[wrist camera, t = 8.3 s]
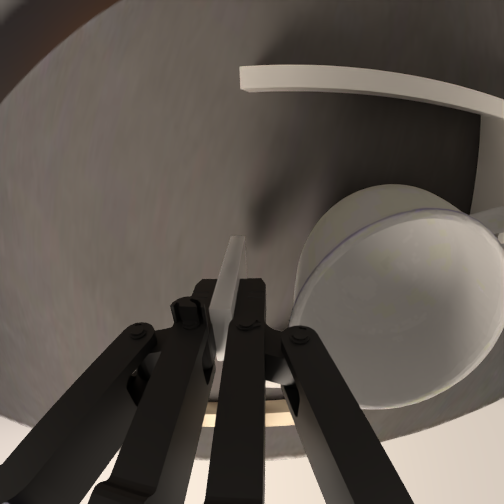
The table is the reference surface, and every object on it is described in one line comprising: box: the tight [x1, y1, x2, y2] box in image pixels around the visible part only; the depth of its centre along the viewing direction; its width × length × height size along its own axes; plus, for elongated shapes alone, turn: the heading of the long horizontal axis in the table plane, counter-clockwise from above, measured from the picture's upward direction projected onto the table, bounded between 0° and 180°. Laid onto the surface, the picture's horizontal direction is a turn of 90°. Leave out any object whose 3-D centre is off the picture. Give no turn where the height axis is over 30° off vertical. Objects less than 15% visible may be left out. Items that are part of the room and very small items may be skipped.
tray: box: [239, 65, 504, 388], centre depth 16 cm, size 15×19×4 cm
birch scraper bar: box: [202, 399, 295, 427], centre depth 26 cm, size 23×2×2 cm, turn 103°
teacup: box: [289, 184, 504, 409], centre depth 14 cm, size 14×11×8 cm
